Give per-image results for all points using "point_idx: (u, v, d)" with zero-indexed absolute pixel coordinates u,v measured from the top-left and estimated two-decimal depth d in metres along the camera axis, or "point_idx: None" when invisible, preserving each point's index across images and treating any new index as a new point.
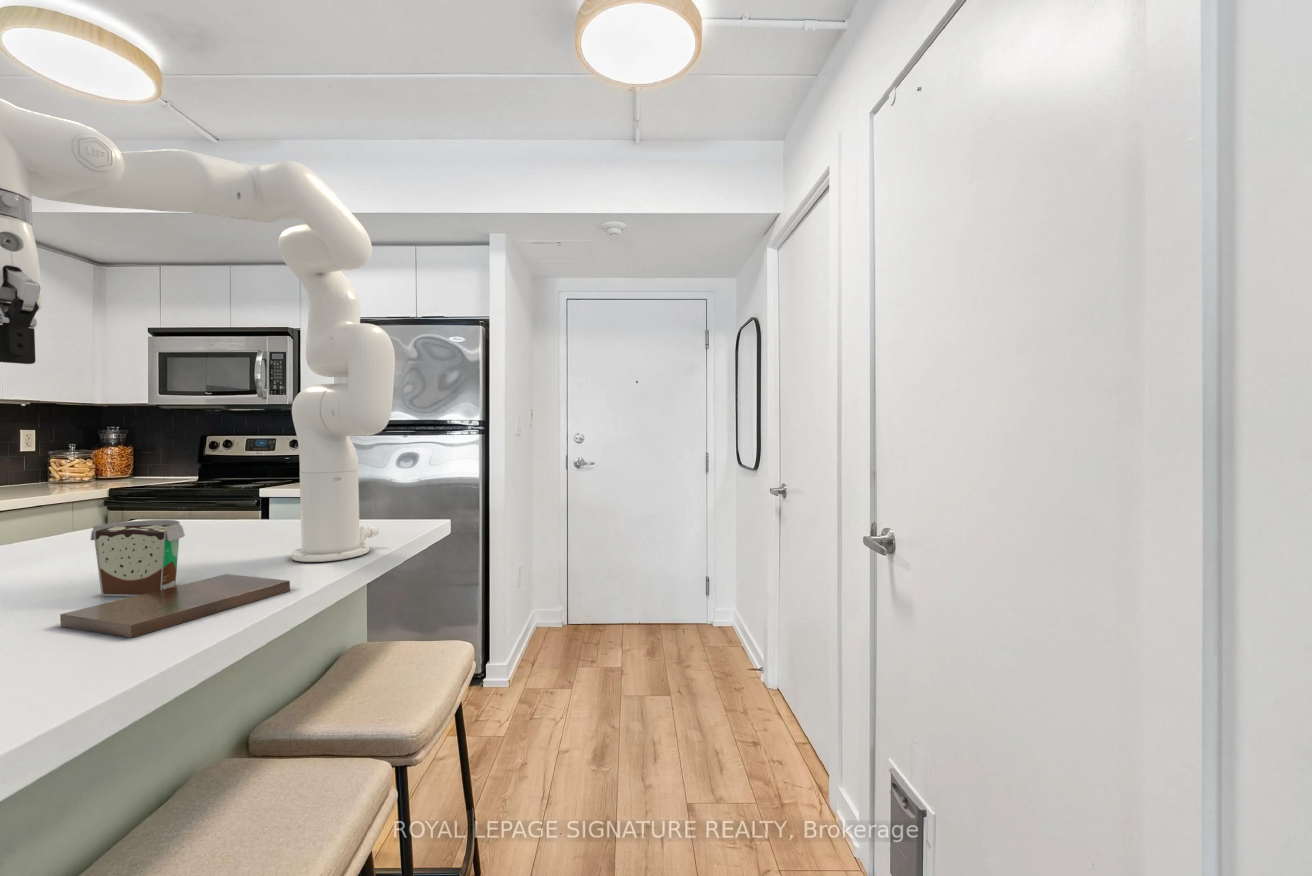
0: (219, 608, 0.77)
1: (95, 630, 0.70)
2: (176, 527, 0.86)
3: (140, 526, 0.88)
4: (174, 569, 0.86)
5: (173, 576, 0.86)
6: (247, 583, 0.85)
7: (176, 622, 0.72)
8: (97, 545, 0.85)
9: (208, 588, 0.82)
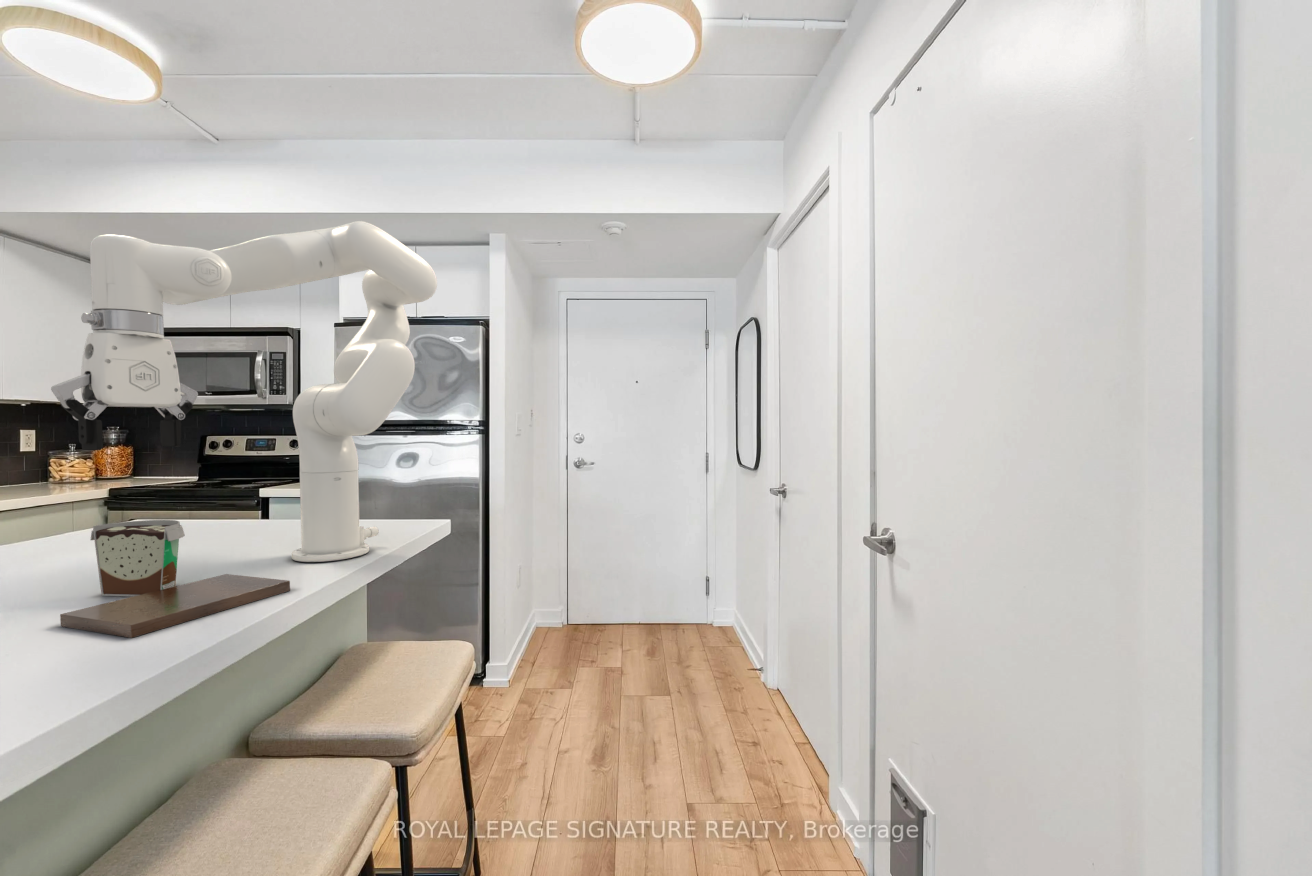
0: (219, 608, 0.77)
1: (95, 630, 0.70)
2: (176, 527, 0.86)
3: (140, 526, 0.88)
4: (174, 569, 0.86)
5: (173, 576, 0.86)
6: (247, 583, 0.85)
7: (176, 622, 0.72)
8: (97, 545, 0.85)
9: (208, 588, 0.82)
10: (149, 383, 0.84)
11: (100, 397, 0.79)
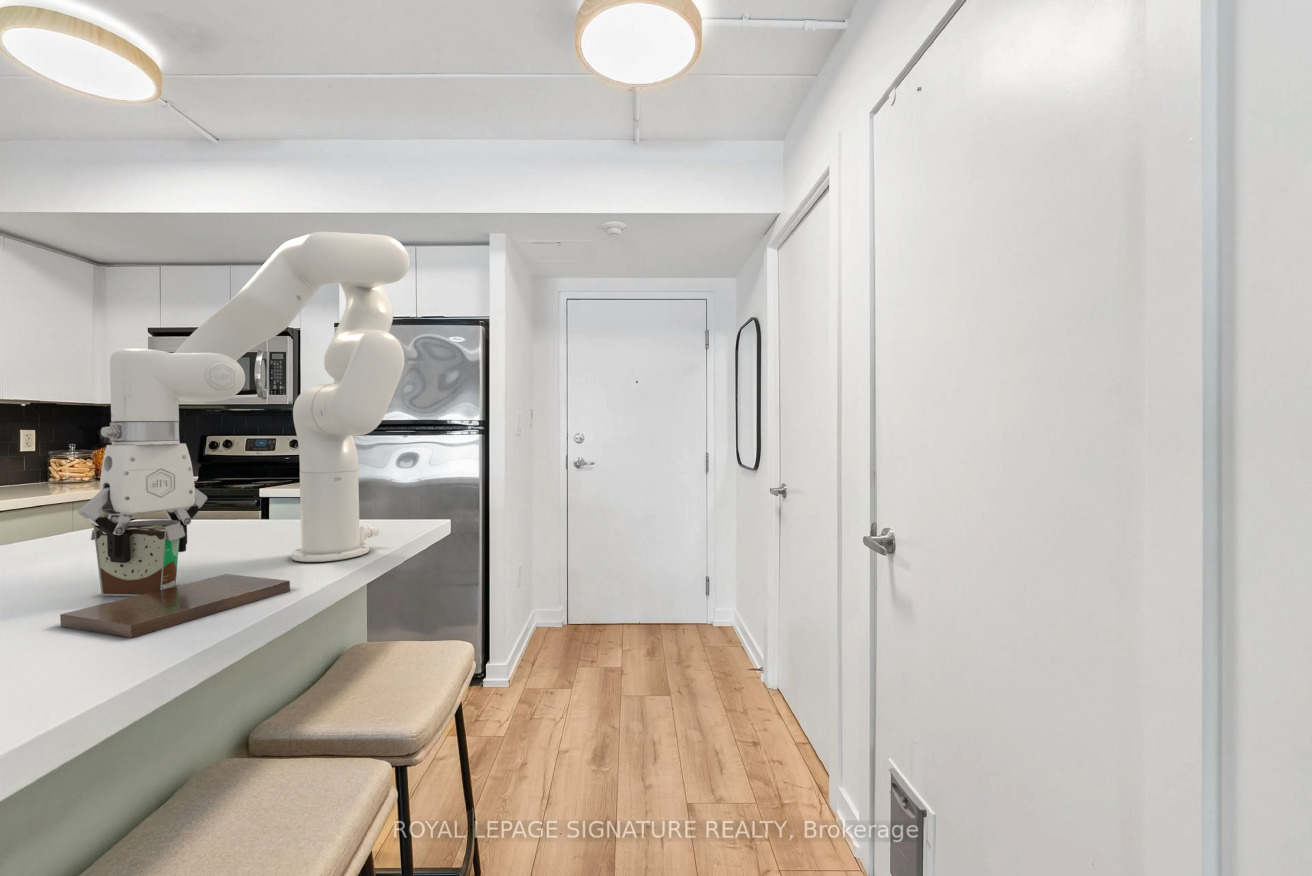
0: (219, 608, 0.77)
1: (95, 630, 0.70)
2: (177, 527, 0.86)
3: (140, 526, 0.88)
4: (174, 569, 0.86)
5: (173, 576, 0.86)
6: (247, 583, 0.85)
7: (176, 622, 0.72)
8: (97, 545, 0.85)
9: (208, 588, 0.82)
10: (165, 489, 0.87)
11: (118, 509, 0.81)
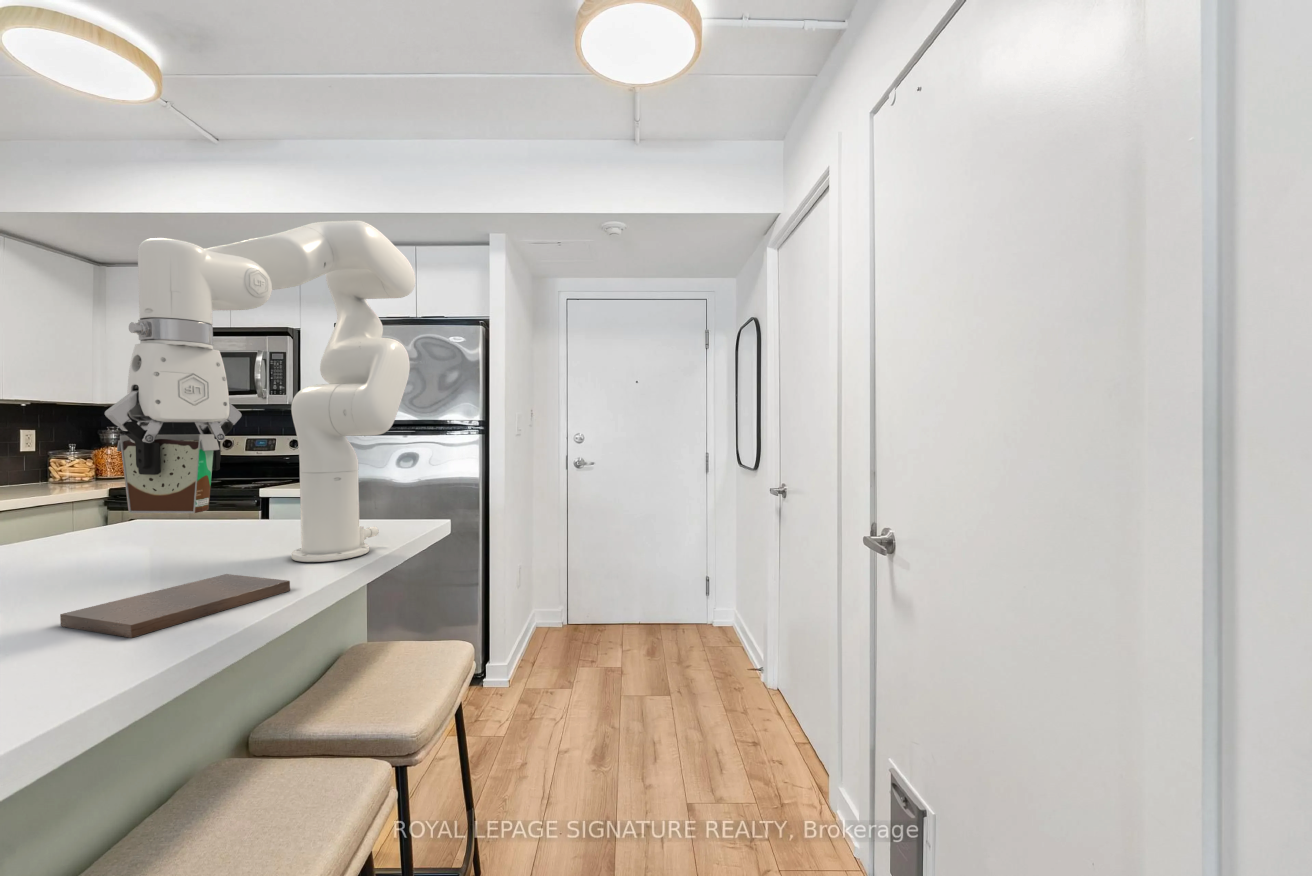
0: (219, 608, 0.77)
1: (95, 630, 0.70)
2: (211, 438, 0.77)
3: None
4: (208, 485, 0.78)
5: (207, 492, 0.78)
6: (247, 583, 0.85)
7: (176, 622, 0.72)
8: (124, 457, 0.77)
9: (208, 588, 0.82)
10: (198, 397, 0.78)
11: (148, 413, 0.73)
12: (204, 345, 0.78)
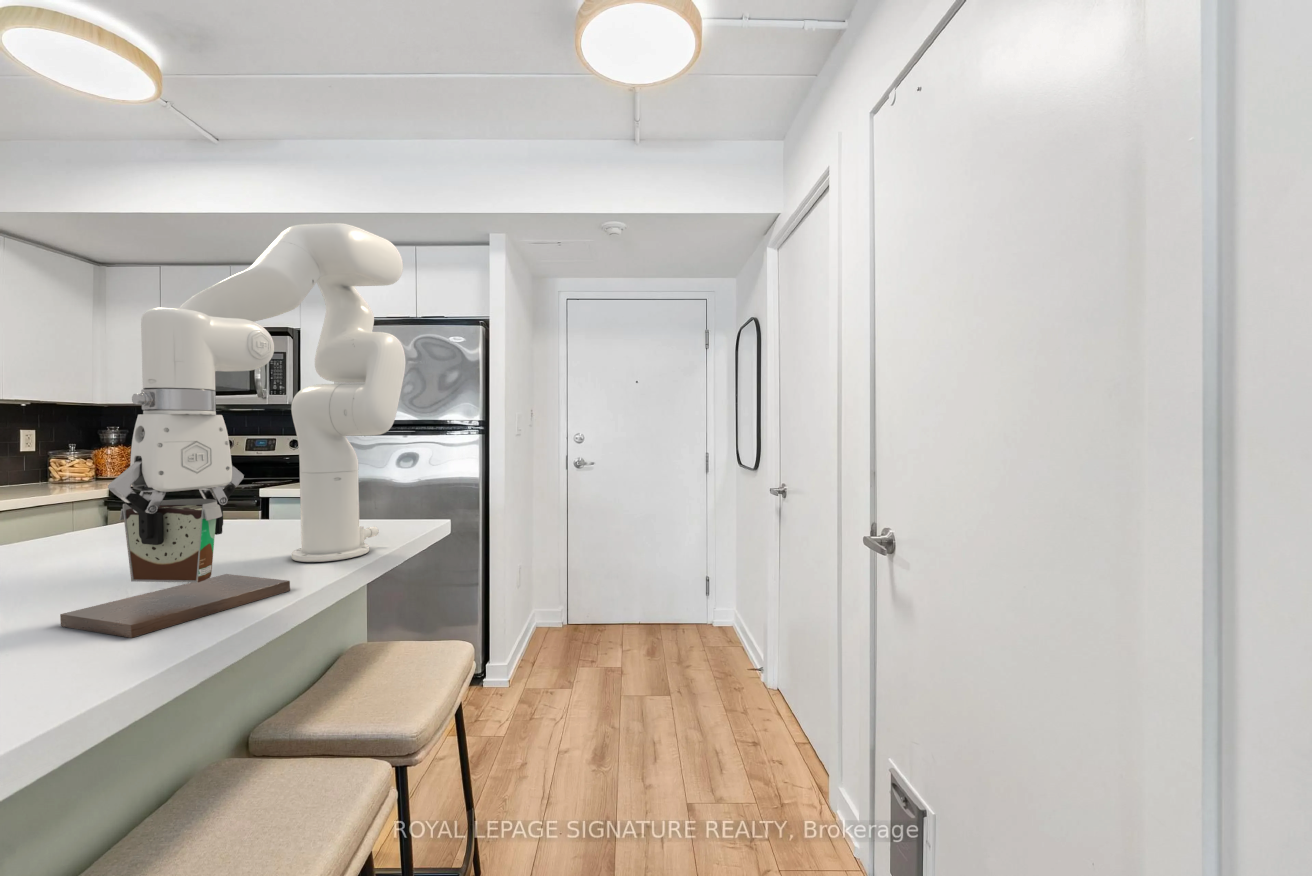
0: (219, 608, 0.77)
1: (95, 630, 0.70)
2: (214, 506, 0.77)
3: (173, 506, 0.80)
4: (211, 552, 0.78)
5: (210, 560, 0.78)
6: (247, 583, 0.85)
7: (176, 622, 0.72)
8: (127, 526, 0.77)
9: (208, 588, 0.82)
10: (201, 464, 0.78)
11: (151, 484, 0.73)
12: (207, 412, 0.78)
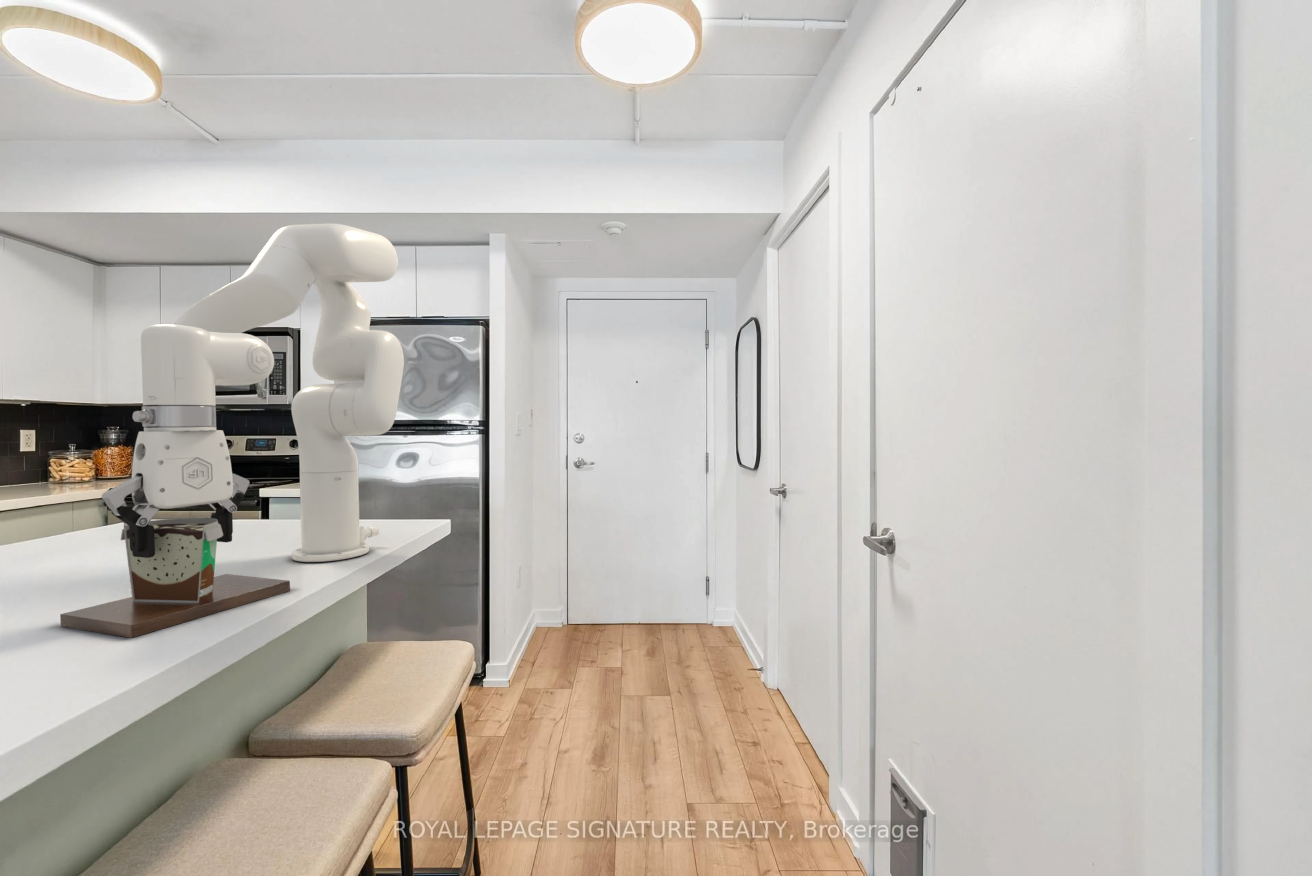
0: (219, 608, 0.77)
1: (95, 630, 0.70)
2: (215, 526, 0.78)
3: (174, 525, 0.80)
4: (212, 572, 0.78)
5: (211, 580, 0.78)
6: (247, 583, 0.85)
7: (176, 622, 0.72)
8: (128, 546, 0.77)
9: None
10: (202, 480, 0.79)
11: (152, 502, 0.73)
12: (208, 428, 0.78)
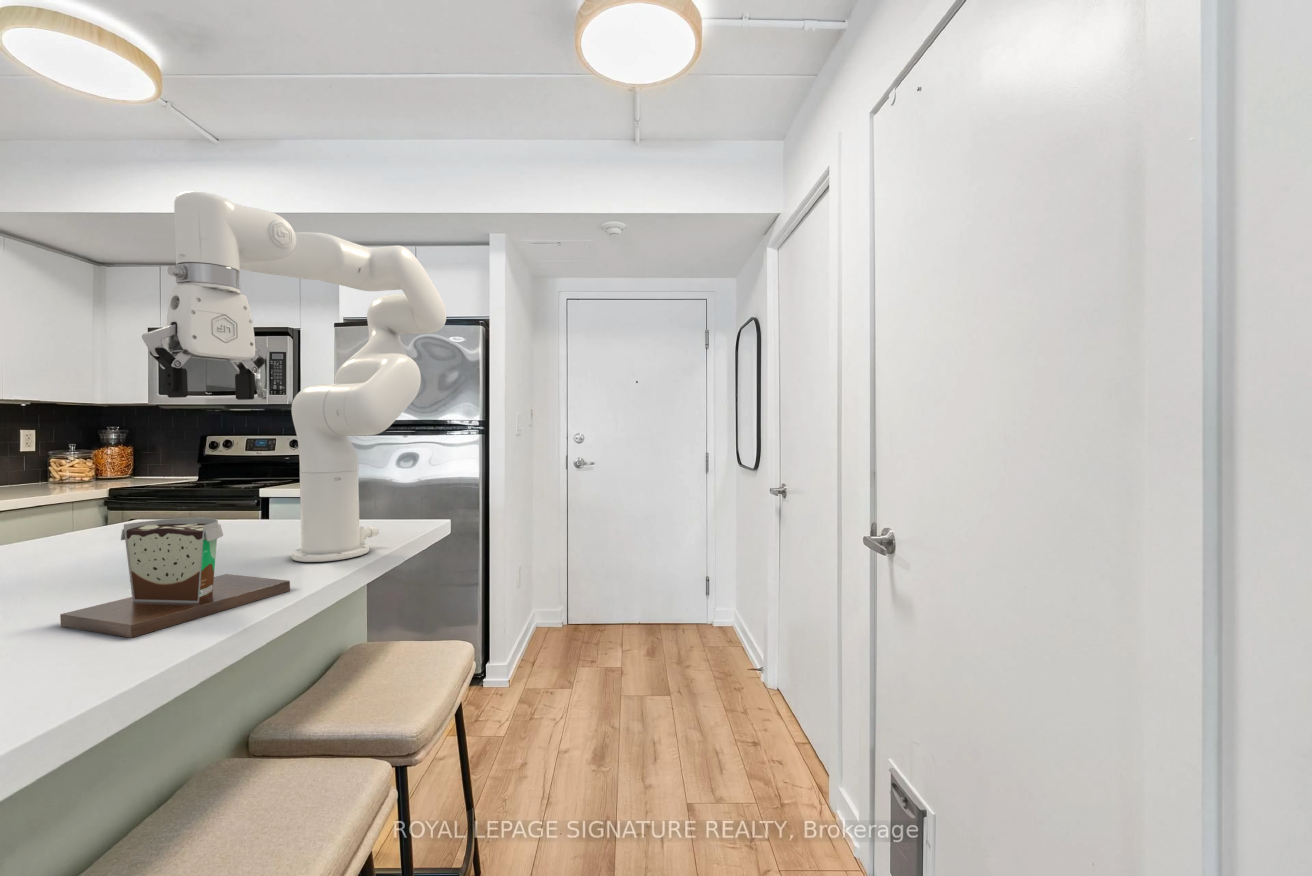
0: (219, 608, 0.77)
1: (95, 630, 0.70)
2: (215, 526, 0.78)
3: (174, 525, 0.80)
4: (212, 572, 0.78)
5: (211, 580, 0.78)
6: (247, 583, 0.85)
7: (176, 622, 0.72)
8: (128, 546, 0.77)
9: None
10: (229, 336, 0.87)
11: (186, 346, 0.82)
12: (233, 289, 0.87)
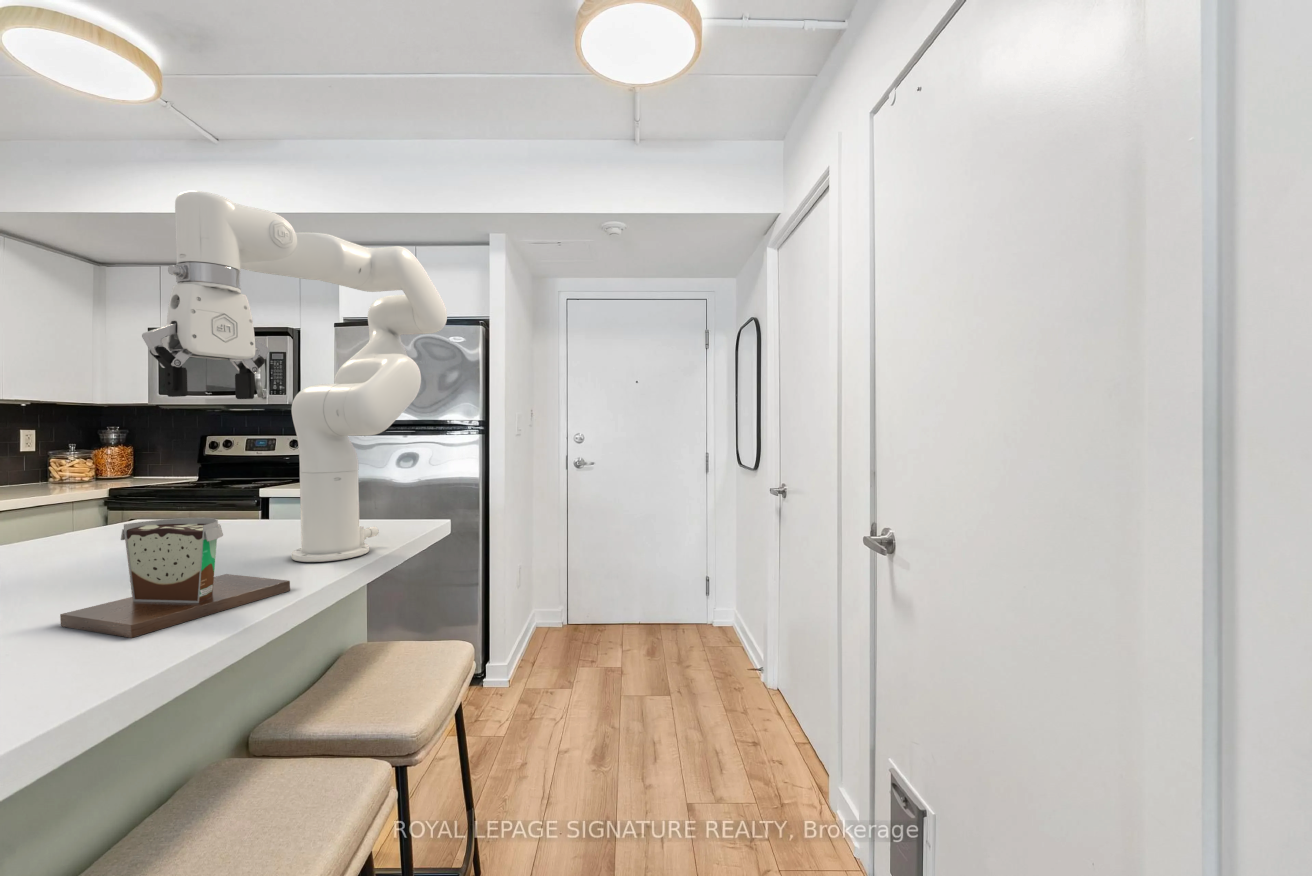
0: (219, 608, 0.77)
1: (95, 630, 0.70)
2: (215, 526, 0.78)
3: (174, 525, 0.80)
4: (212, 572, 0.78)
5: (211, 580, 0.78)
6: (247, 583, 0.85)
7: (176, 622, 0.72)
8: (128, 546, 0.77)
9: None
10: (229, 335, 0.87)
11: (186, 345, 0.82)
12: (234, 288, 0.87)
